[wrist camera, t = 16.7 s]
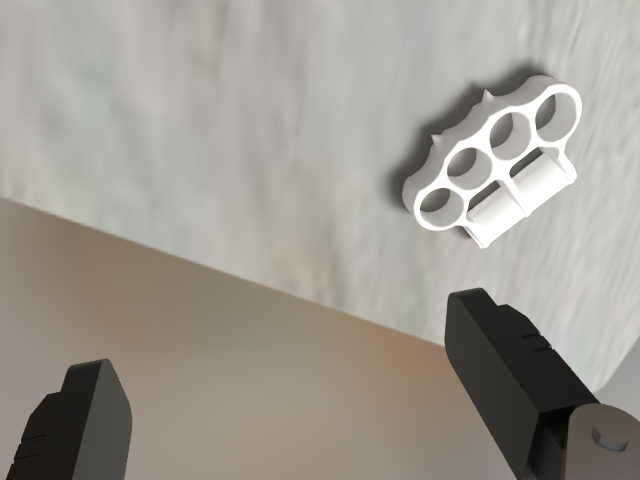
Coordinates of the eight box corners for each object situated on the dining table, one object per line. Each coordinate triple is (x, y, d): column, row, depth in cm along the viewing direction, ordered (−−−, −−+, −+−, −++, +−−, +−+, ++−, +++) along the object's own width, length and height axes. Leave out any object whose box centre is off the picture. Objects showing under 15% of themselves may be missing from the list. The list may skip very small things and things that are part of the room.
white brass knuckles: (449, 257, 54) (373, 170, 46) (589, 149, 50) (532, 36, 42) (462, 274, 51) (384, 185, 43) (612, 162, 47) (555, 43, 39)
